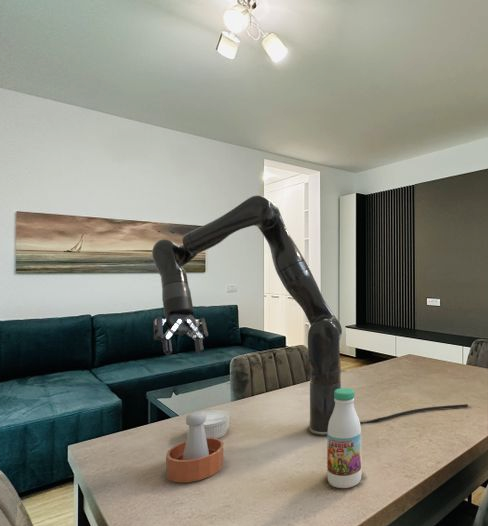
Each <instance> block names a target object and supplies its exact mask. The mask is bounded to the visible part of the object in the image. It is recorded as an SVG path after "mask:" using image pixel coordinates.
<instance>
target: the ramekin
mask: <svg viewBox="0 0 488 526" xmlns="http://www.w3.org/2000/svg"><path fill="white" fill-rule="evenodd" d="M203 412H204V413H205V414H206V421H205V422H204V429H205V434H206V438H216V439H221V438H223V437H224V436H225V435H226V433H227V432H228V430H229V422H230V418H231V413H230V412H229V411H227V410H223V409H211V410H205V411H203Z"/></svg>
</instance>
